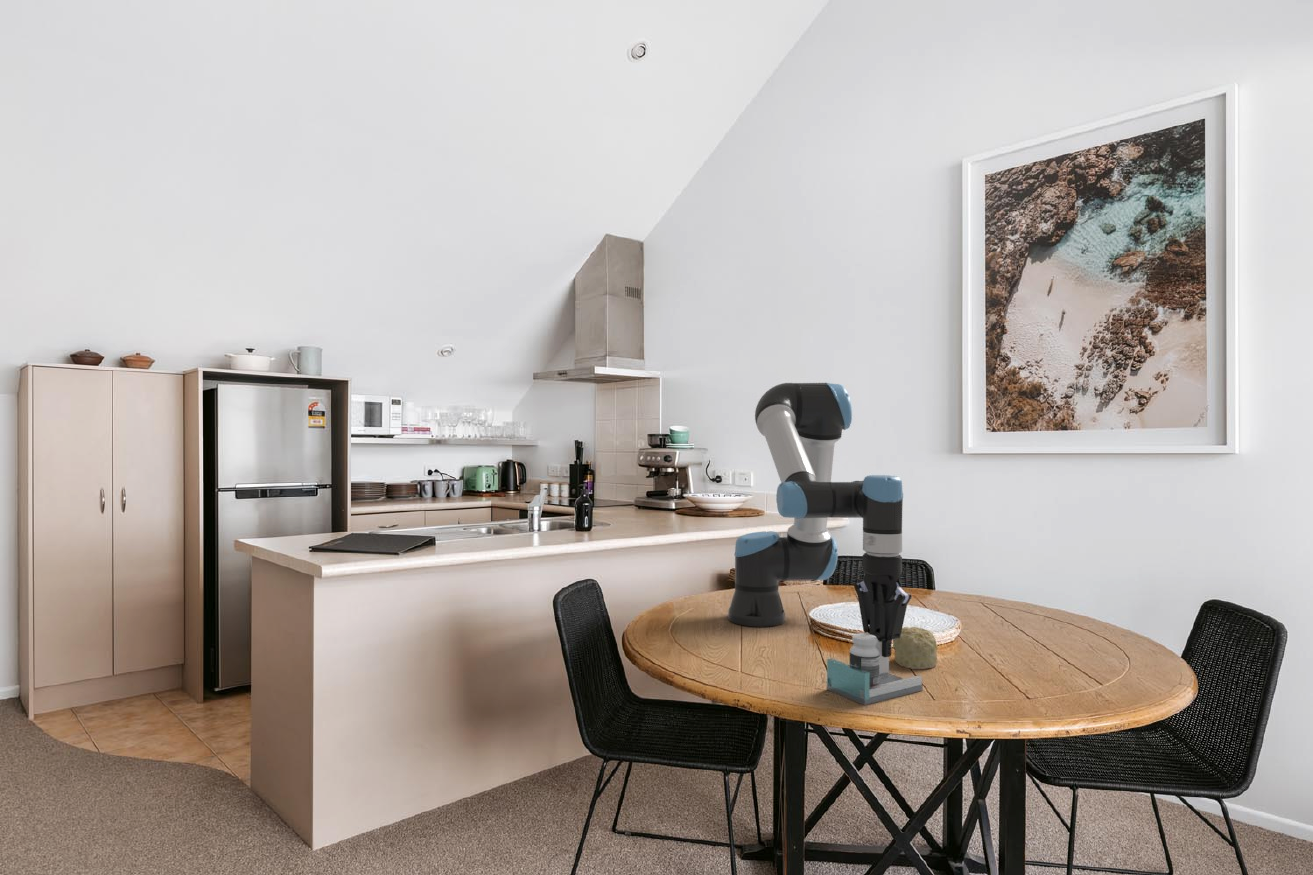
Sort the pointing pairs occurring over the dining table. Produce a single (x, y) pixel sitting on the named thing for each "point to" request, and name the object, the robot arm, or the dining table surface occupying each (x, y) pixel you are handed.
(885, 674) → the grey tray holder
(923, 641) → the decorative object
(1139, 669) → the dining table surface
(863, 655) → the pill bottle
